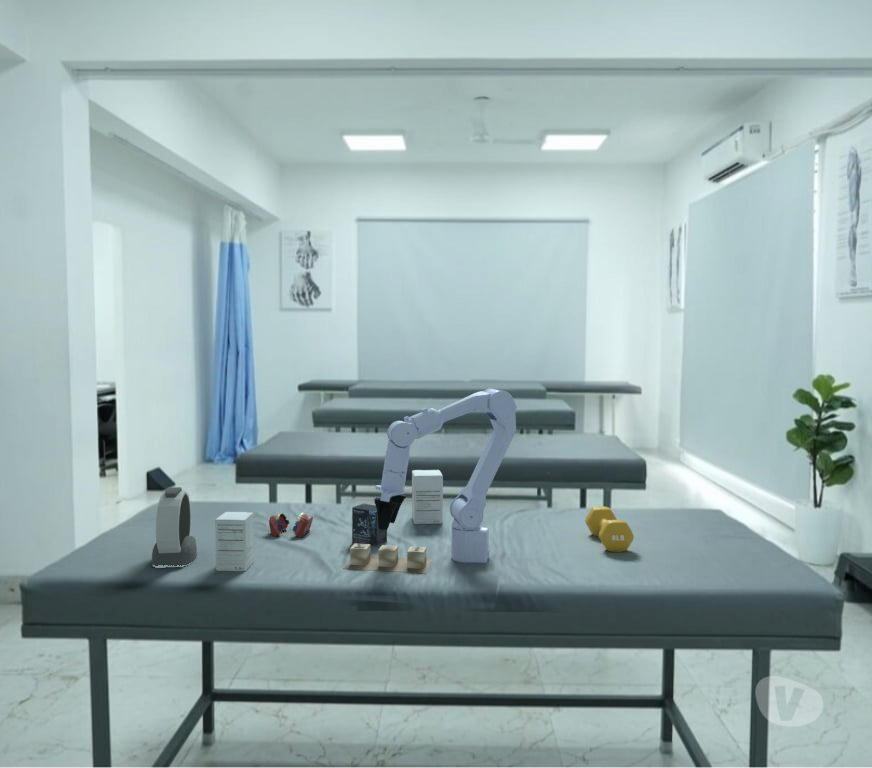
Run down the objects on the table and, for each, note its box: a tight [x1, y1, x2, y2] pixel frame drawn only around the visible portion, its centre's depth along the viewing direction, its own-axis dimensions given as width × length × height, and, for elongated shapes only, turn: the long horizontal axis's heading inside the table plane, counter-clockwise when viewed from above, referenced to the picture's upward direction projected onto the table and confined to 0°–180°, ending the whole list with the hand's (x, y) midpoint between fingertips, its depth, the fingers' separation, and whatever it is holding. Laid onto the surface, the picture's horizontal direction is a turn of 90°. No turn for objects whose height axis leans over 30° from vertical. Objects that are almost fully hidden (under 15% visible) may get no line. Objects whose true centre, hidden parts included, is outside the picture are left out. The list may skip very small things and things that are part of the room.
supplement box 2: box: [411, 469, 444, 525], centre depth 208 cm, size 9×9×15 cm
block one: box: [406, 546, 427, 569], centre depth 163 cm, size 4×4×4 cm
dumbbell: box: [584, 506, 635, 553], centre depth 186 cm, size 19×9×8 cm, turn 1°
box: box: [351, 503, 388, 548], centre depth 182 cm, size 8×6×11 cm
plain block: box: [378, 544, 399, 567], centre depth 164 cm, size 4×4×4 cm
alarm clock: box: [151, 486, 198, 566], centre depth 169 cm, size 16×10×18 cm, turn 9°
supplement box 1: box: [214, 511, 255, 572], centre depth 164 cm, size 7×7×13 cm
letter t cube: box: [349, 543, 371, 565], centre depth 165 cm, size 4×4×4 cm
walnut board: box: [342, 555, 433, 574], centre depth 164 cm, size 20×10×1 cm, turn 81°
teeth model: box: [268, 512, 314, 539], centre depth 193 cm, size 8×6×12 cm
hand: (386, 525), depth 164 cm, fingers open, 7 cm apart
